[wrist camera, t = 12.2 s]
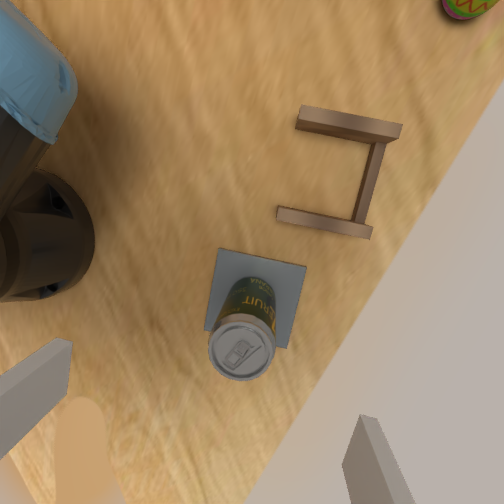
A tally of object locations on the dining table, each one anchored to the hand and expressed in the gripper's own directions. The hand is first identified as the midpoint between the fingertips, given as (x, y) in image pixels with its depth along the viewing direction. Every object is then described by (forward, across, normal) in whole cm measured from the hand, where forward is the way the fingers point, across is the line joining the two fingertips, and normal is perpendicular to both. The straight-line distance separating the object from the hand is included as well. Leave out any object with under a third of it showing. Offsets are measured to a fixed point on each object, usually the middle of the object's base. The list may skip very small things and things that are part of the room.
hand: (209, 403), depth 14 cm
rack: (+22, +6, +12) cm, 26 cm away
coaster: (+22, +1, -3) cm, 22 cm away
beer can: (+21, +1, -3) cm, 22 cm away
